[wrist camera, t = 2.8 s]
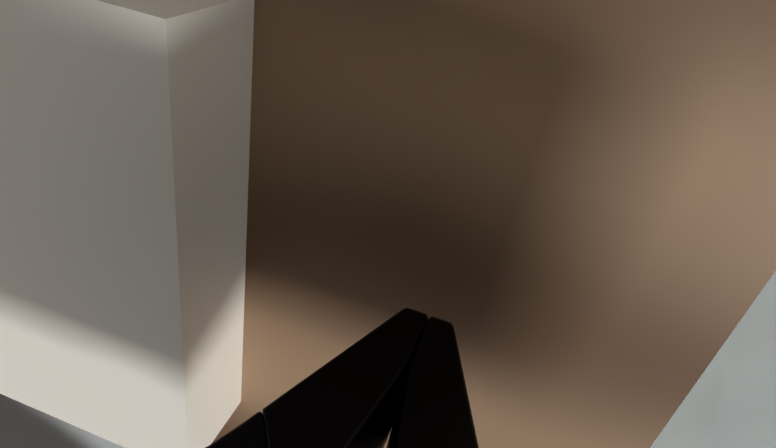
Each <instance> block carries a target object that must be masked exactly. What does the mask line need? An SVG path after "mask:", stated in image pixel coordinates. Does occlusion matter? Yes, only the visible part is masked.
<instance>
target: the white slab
mask: <svg viewBox="0 0 776 448" xmlns="http://www.w3.org/2000/svg"><path fill="white" fill-rule="evenodd" d="M254 1H255V0H0V394H2V395H5V396H7V397H9V398H12V399H14V400H16V401H18V402H21V403H23V404H25V405H28V406H30V407H32V408H35V409H37V410H39V411H42V412H44V413H46V414H48V415H51V416H53V417H55V418H58V419H60V420H62V421H65V422H67V423H69V424H72V425H74V426H76V427H78V428H81V429H83V430H85V431H88V432H90V433H92V434H95V435H97V436H99V437H102V438H104V439H106V440H108V441H111V442H113V443H115V444H118V445H120V446H122V447H125V448H205V447H207V446H209V445H210V444H212V442H213V441H214V439H215V438H216V437H217V435H218V434H219V432H220V431H221V429H222V428H223V427H224V425H225V424H226V422H227V421H228V419H229V418H230V417H231V415H232V414H233V412H234V411H235V409H236V408H237V407H238V405H239V404H240V402H241V386H242V357H243V327H244V297H245V268H246V238H247V209H248V179H249V149H250V120H251V90H252V61H253V31H254Z"/></svg>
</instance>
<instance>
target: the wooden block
mask: <svg viewBox="0 0 776 448" xmlns="http://www.w3.org/2000/svg"><path fill="white" fill-rule="evenodd" d="M775 271H776V0H255V1H254V31H253V61H252V90H251V120H250V149H249V179H248V209H247V238H246V268H245V297H244V327H243V357H242V386H241V402H240V404H239V405H238V407H237V408H236V409H235V411H234V412H233V414H232V415H231V417H230V418H229V419H228V421H227V422H226V424H225V425H224V427H223V428H222V429H221V431H220V432H219V434H218V435H217V437H216V438H215V439H214V441H213V442H215V441H216V440H218V439H219V438H221V437H222V436H224V435H225V434H227V433H228V432H230V431H231V430H233V429H234V428H236V427H237V426H239V425H240V424H242V423H243V422H244V421H246V420H247V419H249V418H250V417H251V416H253V415H254V414H256V413H257V412H261V413H262V409H263V408H264V407H266V406H267V405H269V404H270V403H272V402H273V401H274V400H276V399H277V398H279V397H280V396H281V395H283V394H284V393H286V392H287V391H288V390H290V389H291V388H293V387H294V386H295V385H297V384H298V383H300V382H301V381H302V380H304V379H305V378H307V377H308V376H310V375H311V374H312V373H314V372H315V371H317V370H318V369H319V368H321V367H322V366H324V365H325V364H326V363H328V362H329V361H331V360H332V359H333V358H335V357H336V356H338V355H339V354H340V353H342V352H343V351H345V350H346V349H348V348H349V347H350V346H352V345H353V344H355V343H356V342H357V341H359V340H360V339H362V338H363V337H364V336H366V335H367V334H369V333H370V332H371V331H373V330H374V329H376V328H377V327H378V326H380V325H381V324H383V323H384V322H385V321H387V320H388V319H390V318H391V317H393V316H394V315H395V314H397V313H398V312H400V311H401V310H402V309H404V308H411V309H413V310H416V311H419V312H422V313H425V314H426V315H427V316H428V319H429V318H430V317H432V316H433V317H436V318H439V319H442V320H445V321H448V322H450V323H452V324H453V326H454V330H455V335H456V339H457V344H458V349H459V354H460V359H461V364H462V369H463V373H464V378H465V383H466V388H467V393H468V398H469V402H470V407H471V412H472V417H473V422H474V427H475V432H476V436H477V441H478V446H479V448H650V447H651V445H652V444H653V442H654V441H655V440H656V438H657V437H658V435H659V434H660V432H661V431H662V430H663V428H664V427H665V425H666V424H667V423H668V421H669V420H670V418H671V417H672V416H673V414H674V413H675V411H676V410H677V409H678V407H679V406H680V404H681V403H682V402H683V400H684V399H685V397H686V396H687V394H688V393H689V392H690V390H691V389H692V387H693V386H694V385H695V383H696V382H697V380H698V379H699V378H700V376H701V375H702V373H703V372H704V371H705V369H706V368H707V366H708V365H709V364H710V362H711V361H712V359H713V358H714V356H715V355H716V354H717V352H718V351H719V349H720V348H721V347H722V345H723V344H724V342H725V341H726V340H727V338H728V337H729V335H730V334H731V333H732V331H733V330H734V328H735V327H736V325H737V324H738V323H739V321H740V320H741V318H742V317H743V316H744V314H745V313H746V311H747V310H748V309H749V307H750V306H751V304H752V303H753V302H754V300H755V299H756V297H757V296H758V295H759V293H760V292H761V290H762V289H763V287H764V286H765V285H766V283H767V282H768V280H769V279H770V278H771V276H772V275H773V273H774V272H775ZM390 432H391V431H390ZM389 436H390V434H389ZM389 436H388V439H389ZM388 439H387V441H386V443H385V446H384V448H386V447H387V443H388ZM213 442H212V443H213Z"/></svg>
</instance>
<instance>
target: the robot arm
mask: <svg viewBox="0 0 776 448" xmlns="http://www.w3.org/2000/svg"><path fill="white" fill-rule="evenodd" d="M390 431H391V432H390ZM389 434H390V436H389ZM388 436H389V439H388ZM387 439H388V443H387V447H386V448H479V446H478V441H477V436H476V432H475V427H474V422H473V417H472V412H471V407H470V402H469V398H468V393H467V388H466V383H465V378H464V373H463V369H462V364H461V359H460V354H459V349H458V344H457V339H456V335H455V330H454V326H453V324H452V323H450V322H448V321H445V320H442V319H439V318H436V317H433V316H432V317H430V318H429V319H428V316H427V315H426V314H425V313H422V312H419V311H416V310H413V309H411V308H404V309H402V310H401V311H400V312H398V313H397V314H395V315H394V316H393V317H391V318H390V319H388V320H387V321H385V322H384V323H383V324H381V325H380V326H378V327H377V328H376V329H374V330H373V331H371V332H370V333H369V334H367V335H366V336H364V337H363V338H362V339H360V340H359V341H357V342H356V343H355V344H353V345H352V346H350V347H349V348H348V349H346V350H345V351H343V352H342V353H340V354H339V355H338V356H336V357H335V358H333V359H332V360H331V361H329V362H328V363H326V364H325V365H324V366H322V367H321V368H319V369H318V370H317V371H315V372H314V373H312V374H311V375H310V376H308V377H307V378H305V379H304V380H302V381H301V382H300V383H298V384H297V385H295V386H294V387H293V388H291V389H290V390H288V391H287V392H286V393H284V394H283V395H281V396H280V397H279V398H277V399H276V400H274V401H273V402H272V403H270V404H269V405H267V406H266V407H264V408H263V409H262V413H261V412H257V413H256V414H254V415H253V416H251V417H250V418H249V419H247V420H246V421H244V422H243V423H242V424H240V425H239V426H237V427H236V428H234V429H233V430H231V431H230V432H228V433H227V434H225V435H224V436H222V437H221V438H219V439H218V440H216V441H215V442H213V443H212V444H210V445H209V446H207V447H205V448H384V446H385V443H386V441H387Z"/></svg>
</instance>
